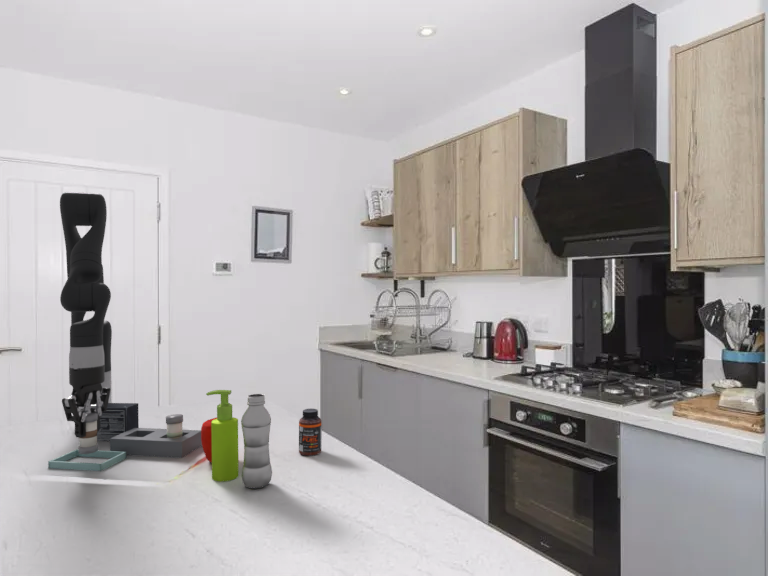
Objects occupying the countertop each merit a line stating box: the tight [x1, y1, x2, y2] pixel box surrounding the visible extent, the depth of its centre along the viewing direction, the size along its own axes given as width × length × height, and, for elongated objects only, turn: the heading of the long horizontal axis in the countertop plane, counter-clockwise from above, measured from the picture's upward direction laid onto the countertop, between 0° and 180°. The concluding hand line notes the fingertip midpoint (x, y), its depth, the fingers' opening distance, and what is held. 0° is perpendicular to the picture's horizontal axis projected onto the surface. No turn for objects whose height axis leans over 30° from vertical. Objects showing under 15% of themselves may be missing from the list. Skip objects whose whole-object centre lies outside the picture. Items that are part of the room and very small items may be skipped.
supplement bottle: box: [298, 408, 323, 457], centre depth 135 cm, size 6×6×11 cm
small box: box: [94, 402, 140, 442], centre depth 146 cm, size 11×6×10 cm, turn 84°
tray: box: [47, 448, 127, 472], centre depth 126 cm, size 14×9×2 cm, turn 81°
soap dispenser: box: [205, 389, 240, 483], centre depth 119 cm, size 6×7×20 cm
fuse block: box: [109, 413, 202, 459], centre depth 135 cm, size 20×10×10 cm, turn 81°
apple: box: [200, 417, 217, 464], centre depth 129 cm, size 9×9×11 cm
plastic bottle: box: [240, 393, 273, 489], centre depth 113 cm, size 6×7×20 cm
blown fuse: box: [77, 412, 99, 454], centre depth 126 cm, size 4×4×9 cm
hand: (87, 433), depth 126 cm, fingers closed on blown fuse, 4 cm apart
